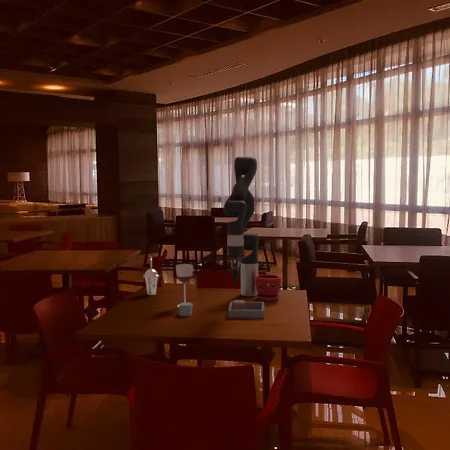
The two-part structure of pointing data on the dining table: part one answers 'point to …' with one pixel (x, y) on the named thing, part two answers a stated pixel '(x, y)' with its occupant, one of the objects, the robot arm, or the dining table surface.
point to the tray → (247, 310)
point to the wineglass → (184, 275)
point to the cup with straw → (151, 280)
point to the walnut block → (239, 305)
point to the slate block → (185, 309)
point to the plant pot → (268, 287)
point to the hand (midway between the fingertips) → (235, 279)
